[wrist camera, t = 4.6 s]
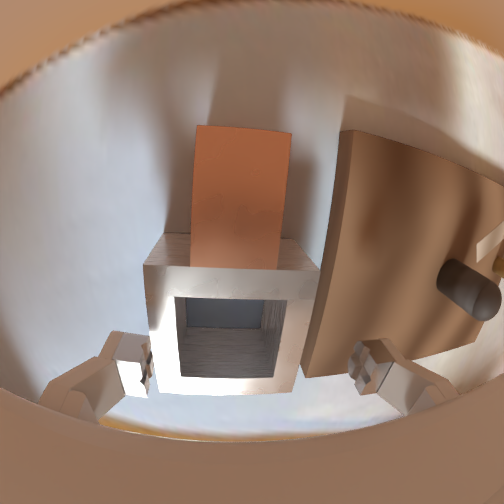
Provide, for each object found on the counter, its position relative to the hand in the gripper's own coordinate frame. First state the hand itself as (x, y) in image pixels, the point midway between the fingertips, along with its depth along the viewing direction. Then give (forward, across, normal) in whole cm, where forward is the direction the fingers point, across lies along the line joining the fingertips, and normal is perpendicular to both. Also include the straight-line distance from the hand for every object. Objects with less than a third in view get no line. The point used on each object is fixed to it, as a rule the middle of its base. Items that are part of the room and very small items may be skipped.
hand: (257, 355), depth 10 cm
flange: (+5, -1, +2) cm, 5 cm away
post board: (+5, +13, +2) cm, 14 cm away
